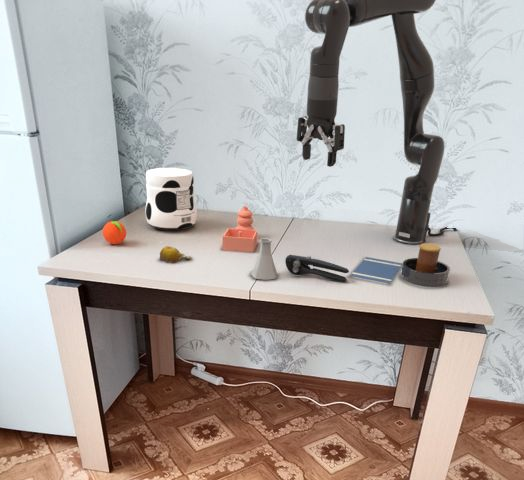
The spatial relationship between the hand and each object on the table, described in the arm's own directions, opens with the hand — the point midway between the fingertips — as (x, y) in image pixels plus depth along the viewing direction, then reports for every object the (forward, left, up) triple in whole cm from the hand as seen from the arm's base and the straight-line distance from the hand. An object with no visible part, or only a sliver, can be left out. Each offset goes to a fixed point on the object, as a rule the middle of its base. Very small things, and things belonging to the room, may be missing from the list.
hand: (318, 162), depth 134 cm
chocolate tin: (-24, +22, -27) cm, 43 cm away
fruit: (+36, -14, -28) cm, 48 cm away
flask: (+17, +6, -28) cm, 33 cm away
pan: (-24, +22, -28) cm, 43 cm away
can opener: (+4, +12, -28) cm, 31 cm away
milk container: (+29, -46, -28) cm, 61 cm away
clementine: (+50, -32, -28) cm, 66 cm away
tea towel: (-15, +13, -28) cm, 34 cm away
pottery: (+12, -23, -28) cm, 38 cm away
